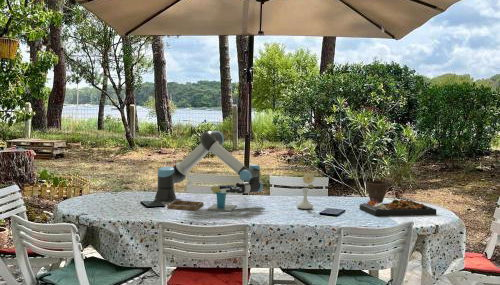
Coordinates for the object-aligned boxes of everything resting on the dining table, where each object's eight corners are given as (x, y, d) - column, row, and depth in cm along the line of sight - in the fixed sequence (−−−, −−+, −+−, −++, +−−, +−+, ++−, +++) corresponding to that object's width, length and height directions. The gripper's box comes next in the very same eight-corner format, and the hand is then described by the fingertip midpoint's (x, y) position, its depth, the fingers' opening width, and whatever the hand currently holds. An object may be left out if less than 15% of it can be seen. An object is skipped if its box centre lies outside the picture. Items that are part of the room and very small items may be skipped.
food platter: (375, 217, 410) (375, 201, 409) (359, 210, 434) (360, 195, 433) (436, 215, 421) (436, 200, 421) (417, 209, 445) (418, 194, 444)
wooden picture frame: (167, 208, 419) (167, 204, 419) (175, 203, 437) (175, 200, 436) (196, 210, 415) (196, 206, 415) (203, 205, 433) (203, 202, 433)
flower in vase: (293, 208, 431) (294, 172, 429) (303, 206, 440) (304, 171, 438) (308, 211, 422) (309, 174, 421) (318, 209, 431) (319, 173, 429)
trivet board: (207, 210, 416) (207, 208, 416) (214, 205, 435) (214, 203, 435) (230, 211, 413) (230, 210, 413) (236, 206, 432) (236, 205, 432)
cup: (229, 205, 430) (230, 183, 429) (233, 207, 423) (234, 185, 422) (210, 206, 425) (211, 184, 424) (214, 208, 418) (215, 186, 416)
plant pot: (378, 206, 448) (379, 184, 446) (361, 203, 459) (362, 181, 458) (390, 204, 457) (391, 182, 456) (374, 201, 469) (375, 180, 467)
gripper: (252, 195, 423) (225, 198, 411) (232, 190, 444) (206, 192, 432) (252, 184, 423) (225, 186, 411) (233, 180, 443) (207, 181, 431)
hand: (216, 189), depth 421 cm, fingers open, 13 cm apart
